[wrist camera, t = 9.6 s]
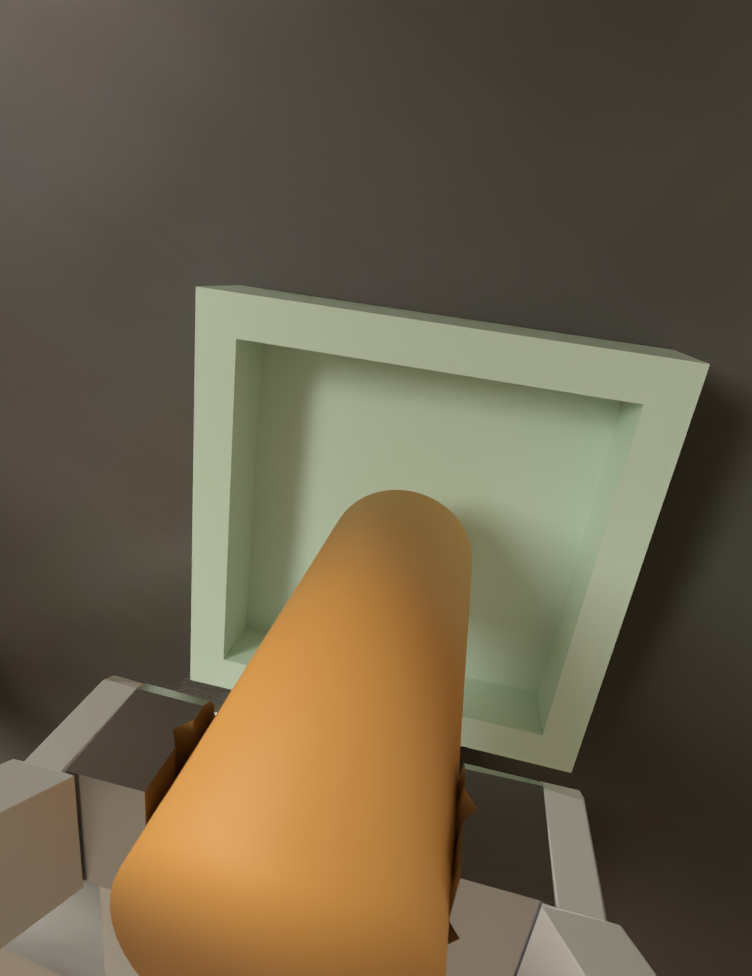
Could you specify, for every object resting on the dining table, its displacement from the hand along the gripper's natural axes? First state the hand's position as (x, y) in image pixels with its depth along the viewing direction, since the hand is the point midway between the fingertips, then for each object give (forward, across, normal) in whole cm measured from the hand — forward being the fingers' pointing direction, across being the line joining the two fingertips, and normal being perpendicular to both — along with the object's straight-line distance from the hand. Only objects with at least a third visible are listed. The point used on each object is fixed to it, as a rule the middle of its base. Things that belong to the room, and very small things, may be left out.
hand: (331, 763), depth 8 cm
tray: (+9, 0, 0) cm, 9 cm away
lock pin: (+7, 0, 0) cm, 7 cm away
